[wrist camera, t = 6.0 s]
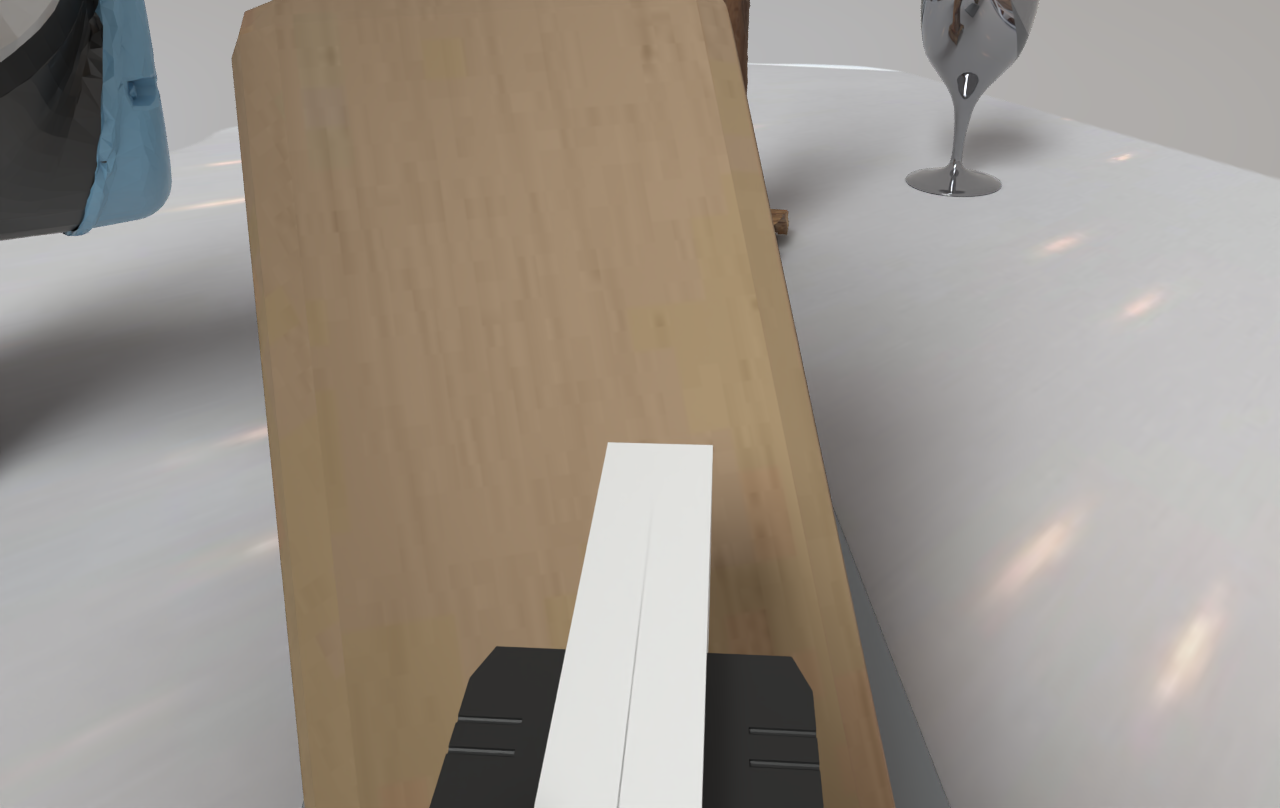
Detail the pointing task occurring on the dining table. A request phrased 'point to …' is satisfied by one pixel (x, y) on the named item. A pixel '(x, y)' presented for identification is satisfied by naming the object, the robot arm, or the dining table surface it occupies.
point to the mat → (891, 707)
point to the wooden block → (518, 356)
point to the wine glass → (969, 74)
